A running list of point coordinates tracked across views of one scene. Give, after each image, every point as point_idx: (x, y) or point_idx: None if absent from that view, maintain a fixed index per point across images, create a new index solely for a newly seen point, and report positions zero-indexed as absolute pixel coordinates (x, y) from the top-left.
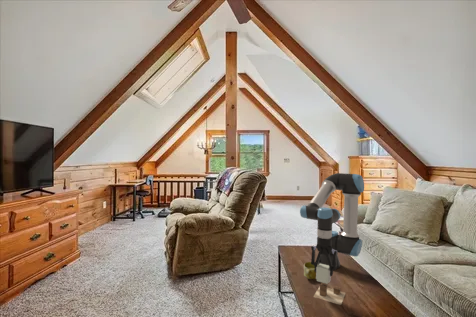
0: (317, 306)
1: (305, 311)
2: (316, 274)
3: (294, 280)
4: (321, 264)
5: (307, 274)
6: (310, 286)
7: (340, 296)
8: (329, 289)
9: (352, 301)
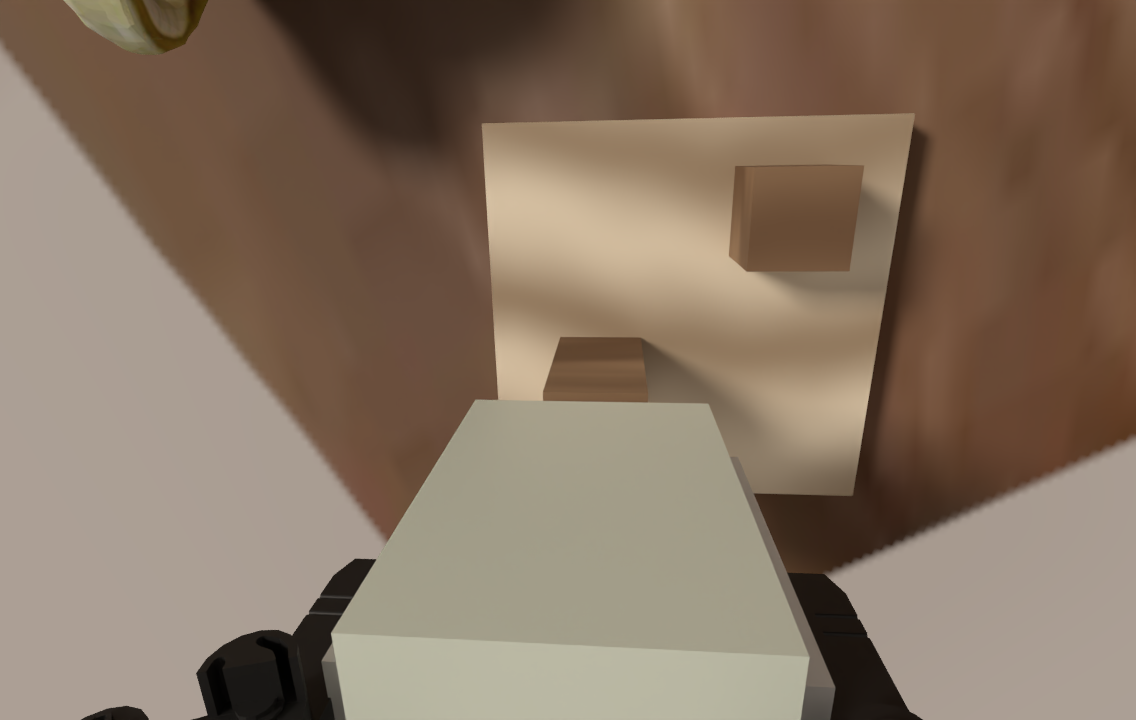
0: None
1: None
2: None
3: (87, 126)
4: (436, 696)
5: (167, 49)
6: (359, 172)
7: (834, 288)
8: (649, 164)
9: (993, 260)
